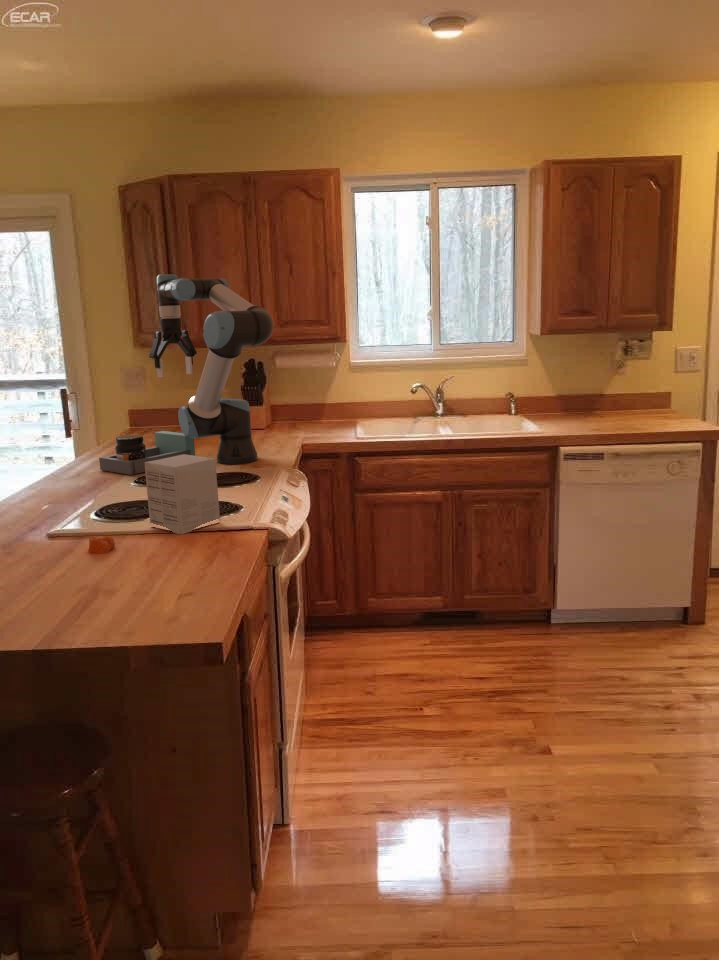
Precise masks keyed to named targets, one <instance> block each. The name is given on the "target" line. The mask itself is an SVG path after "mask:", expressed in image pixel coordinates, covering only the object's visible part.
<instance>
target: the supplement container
mask: <svg viewBox="0 0 719 960" xmlns="http://www.w3.org/2000/svg"><path fill="white" fill-rule="evenodd" d="M115 444H116V445H115V448H114V450H115V454H116V458H117V459H123V460H129V461H132V460H137V459H142V458H146V446H147V445H146V444H145V443H144V435H141V434H127V435H121V436H120V435H119V436H116V438H115Z"/></svg>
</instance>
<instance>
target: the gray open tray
mask: <svg viewBox="0 0 719 960" xmlns="http://www.w3.org/2000/svg"><path fill="white" fill-rule="evenodd" d="M154 441H155V442H154V443H155V446H153V447H147V448H145V449H146V458H142V459H137V460H132V461H129V460H123V459H117V458H116V453H115V454H110V455H105V456H100V457H98V458H99V469H100V471H105V472H109V473H110V472H111V473H118V474H123V475H130V476H132V475H137V474H141V473H145V463H144V462H149V461H154V460H159V459H164V458H169V457H173V456H178V455H183V454H186V455H193V456H196V450H195V447H196V446H195V438H187V437H186V436H185V435H184V434H183V432H175V431H166V430H161V431H156V432H154Z"/></svg>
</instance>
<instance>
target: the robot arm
mask: <svg viewBox="0 0 719 960" xmlns="http://www.w3.org/2000/svg"><path fill="white" fill-rule="evenodd" d="M230 287H231V286H230V284H229V283H228V280H226V279H225V278H218V277H215V278H186V277H185V278H184V277H180V278H178V275H176V274H174V273H173V274H170V273H169V274H168V273H167V274H166V273H165V274H158V275H157V276H156V289H157V297H158V298H157V299H158V300H157V301H158V310H159V312H158V313H159V317H160V320H159V323H160V329H161V331H155V332H154V339H153V343H152V345H151V349H150V352H149V356H148V357H149V358H150V359H152V360H154V368H155V369H156V374H157V375H156V376H157V378H164V366H163V359H161V358H162V356H163V354H164V352H165V351H166V348H167V347H168V346H169V345H171V344H177V345H178V346H179V348H180V349H181V350H182V352H183V353H184V354H185V355H186V356H184V358H185V359H184V360H185V371H186V372H185V373H186V375H193V365H194V359H193V357H195V356H196V355H197V350H196V348H195V346H194V343H193V342H192V340H191V338H190V333H189V331H188V330H187V329H185V330H182V329H181V328H182V319H181V318H180V317H181V315H182V313H181V304H180V302H183V301H210V302H211V303H213V304H215V305H216V307H217V308H220V309H221V310H219V311H214V312H213V311H212V312H211V313H210V314H208V315H207V317H206V319H205V320H204V323H203V328H202V330H203V333H202V335H203V340H204V343H205V345H206V347H207V349H208V352H207V356H206V359H205V363H204V366H203V369H202V373H201V376H200V379H199V382H198V386H197V389H196V392H195V394H194V395H193V396H191V397H190V399H189V400H188V403H187V406H185V405H183V406H181V407H180V408H178V411H177V412H178V414H177V415H178V416H177V417H178V423H179V426H180V430H181V433H183V434H184V435H185V436H186V437H187V438H194V439H199V438H200V439H201V438H206V437H213V436H214V437H215V436H219V444H218V450H217V453H216V463H218V464H222V465H224V464H225V465H239V464H247V463H248V464H249V463H253V462H256V461H257V460H258V452H257V450H256V447H255V445H254V441H253V438H252V437H253V436H252V423H251V409H250V404H249V401H248V400H247V399H239V398H226V397H224V398H223V397H222V395H223V392H224V390H225V386H226V383H227V380H228V378H229V375H230V372H231V369H232V366H233V363H234V360H235V359H236V358H239V357H240V356H241V355H242V351H243V349H244V347H245V348H246V347H255V346H260V345H262V344H264V343H266V342H267V341H269V339H270V337H271V336H272V335H273V332H274V328H275V327H274V325H275V324H274V319H273V318H272V316H271V314H270V313H269V311H267V310H266V309H265V308H263V307H262V306H260V305H255V304H252V303H251V302H249V301H248V300H247V299H245V298H243V297H242V296H241V295H239V294H237V293H236V292H234V291H233V290H232V289H231V288H230Z"/></svg>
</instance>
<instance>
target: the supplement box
mask: <svg viewBox="0 0 719 960" xmlns="http://www.w3.org/2000/svg"><path fill="white" fill-rule="evenodd" d="M144 463H145V472H144V474H145V483H146V495H147V505H148V516H149V524H150V523H153V524H156V525H160V526H163V527H166V528H168V529H170V530H171V531H172V532H173V533H172V532H171V533H172V534H177V535H184V534H187V533H191V532H193V531H192V529H194V528H196V527H198V526H200V525H202V524H205V523H207V522H210V521H213V520H216V519H219V518H220V519H221V513H220V503H219V502H220V501H219V490H218V479H217V478H218V477H217V476H218V475H217V466H216V464H217V461H216V458H212V457H207V456H199V455H195V456H193V455H186V454H183V455H178V456H173V457H169V458H164V459H159V460H154V461H149V462H144Z"/></svg>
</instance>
